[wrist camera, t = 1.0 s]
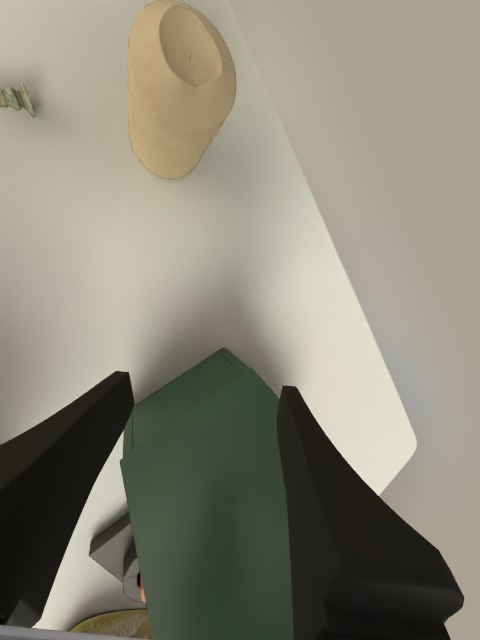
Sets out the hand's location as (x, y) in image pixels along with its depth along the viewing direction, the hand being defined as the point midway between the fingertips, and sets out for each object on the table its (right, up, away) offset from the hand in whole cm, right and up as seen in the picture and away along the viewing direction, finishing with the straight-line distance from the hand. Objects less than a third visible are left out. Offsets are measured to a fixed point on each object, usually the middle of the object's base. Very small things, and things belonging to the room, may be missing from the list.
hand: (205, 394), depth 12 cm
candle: (-5, +18, +9) cm, 21 cm away
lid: (+2, -7, +2) cm, 7 cm away
